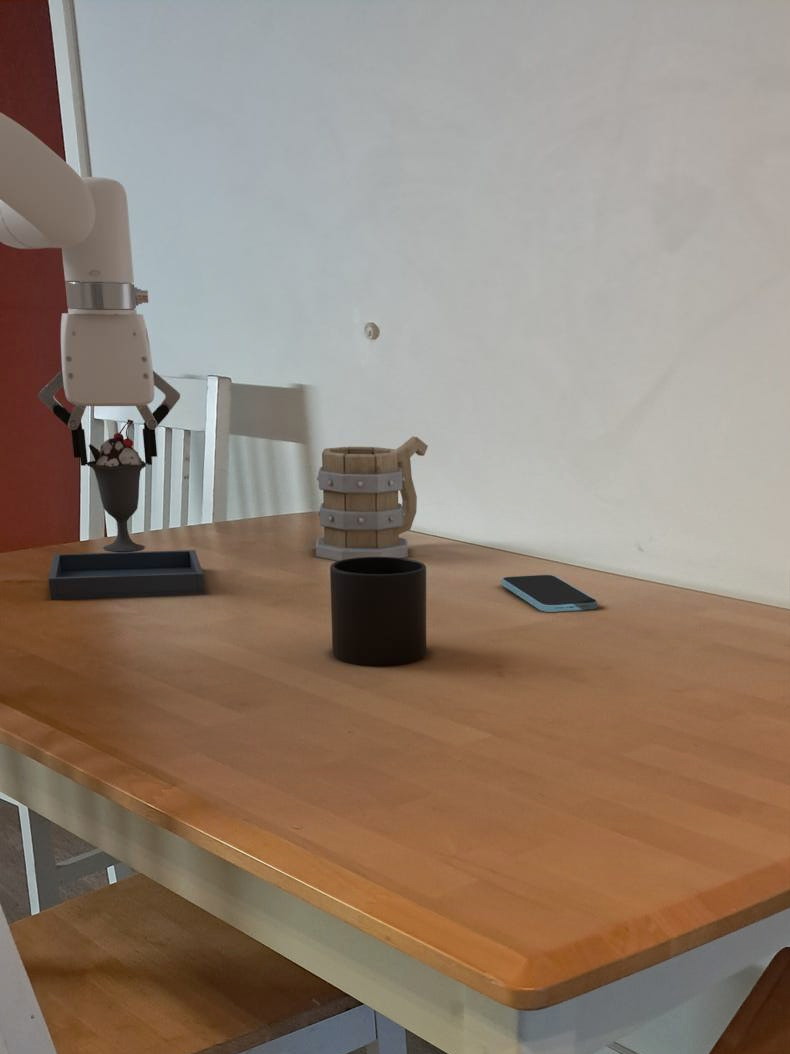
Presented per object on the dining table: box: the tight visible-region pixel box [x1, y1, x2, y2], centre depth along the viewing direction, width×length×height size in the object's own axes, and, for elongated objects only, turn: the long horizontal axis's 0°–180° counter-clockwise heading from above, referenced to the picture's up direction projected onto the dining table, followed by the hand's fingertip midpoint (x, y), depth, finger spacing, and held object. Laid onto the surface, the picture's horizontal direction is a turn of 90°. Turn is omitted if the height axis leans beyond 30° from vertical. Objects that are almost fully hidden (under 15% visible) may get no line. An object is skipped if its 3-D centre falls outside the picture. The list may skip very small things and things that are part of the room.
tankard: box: [315, 436, 429, 562], centre depth 178 cm, size 20×13×15 cm, turn 139°
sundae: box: [86, 419, 147, 553], centre depth 152 cm, size 7×7×15 cm
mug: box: [329, 557, 427, 667], centre depth 128 cm, size 9×12×9 cm
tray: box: [48, 549, 206, 601], centre depth 157 cm, size 18×16×3 cm
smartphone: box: [501, 574, 598, 613], centre depth 154 cm, size 7×1×15 cm
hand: (116, 462), depth 151 cm, fingers closed on sundae, 6 cm apart
